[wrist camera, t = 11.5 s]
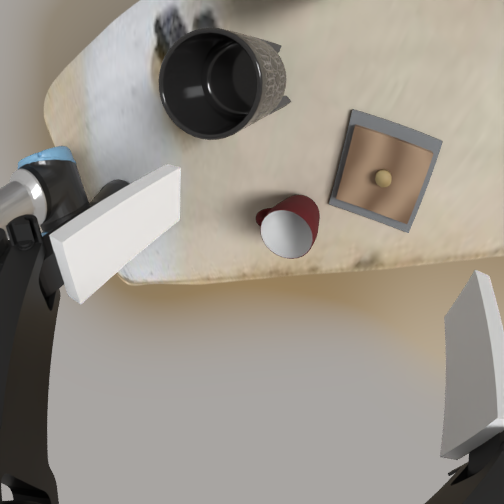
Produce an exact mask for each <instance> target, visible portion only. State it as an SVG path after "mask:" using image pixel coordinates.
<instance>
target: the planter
mask: <svg viewBox="0 0 504 504" xmlns="http://www.w3.org/2000/svg"><path fill="white" fill-rule="evenodd" d="M280 48H281V45H278V44H275V43H272V42H269V41H265V40H262V39H259V38H255V37H252V36H248V35H244V34H240V33H237V32H233V31H229V30H224V29H220V28H202V29H198V30H194V31H192V32H190V33H187V34H186V35H184V36H183V37H181V38H180V39H179V40H178V41H176V42H175V43H174V44H173V46H172V47H171V48H170V49H169V51H168V52H167V54H166V56H165V58H164V60H163V62H162V65H161V69H160V74H159V92H160V97H161V100H162V104H163V106H164V108H165V110H166V112H167V114H168V115H169V117H170V118H171V120H172V121H173V122H174V123H175V124H176V125H177V126H178V127H179V128H180V129H182V130H183V131H185V132H186V133H188V134H190V135H192V136H194V137H197V138H201V139H207V140H216V139H222V138H226V137H228V136H231V135H233V134H235V133H237V132H239V131H240V130H242V129H244V128H246V127H247V126H249V125H251V124H253V123H255V122H256V121H258V120H260V119H262V118H263V117H265V116H267V115H268V114H271V113H273V112H275V111H277V110H279V109H281V108H283V107H285V106H286V105H287V104H289V103H290V102H291V101H290V99H289V98H288V97H287V96H283V94H284V91H285V87H286V71H285V68H284V64H283V62H282V60H281V58H280V56H279V55H278V53H277V52H279V51H280Z"/></svg>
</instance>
